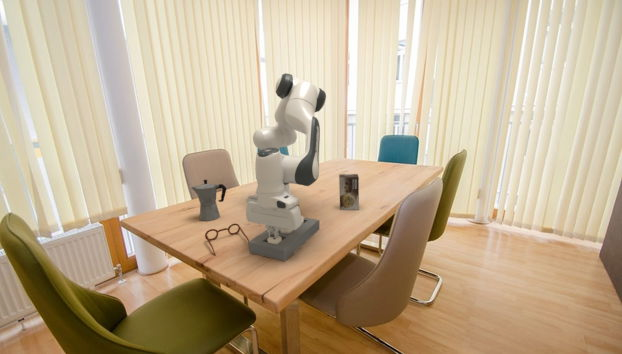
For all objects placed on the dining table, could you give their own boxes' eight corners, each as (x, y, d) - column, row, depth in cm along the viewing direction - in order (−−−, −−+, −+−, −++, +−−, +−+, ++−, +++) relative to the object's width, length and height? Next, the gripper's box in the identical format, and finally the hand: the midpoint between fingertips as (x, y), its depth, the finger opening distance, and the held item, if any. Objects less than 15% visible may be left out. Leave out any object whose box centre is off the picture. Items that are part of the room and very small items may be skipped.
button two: (289, 227, 105) (288, 219, 104) (295, 223, 109) (295, 214, 108) (300, 229, 103) (299, 221, 102) (305, 225, 107) (305, 216, 106)
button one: (265, 249, 91) (264, 240, 90) (273, 243, 95) (272, 234, 95) (277, 252, 89) (276, 242, 88) (284, 246, 93) (284, 236, 92)
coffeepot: (191, 222, 119) (185, 182, 115) (199, 214, 128) (194, 177, 124) (226, 220, 120) (222, 181, 115) (231, 213, 129) (227, 176, 125)
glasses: (240, 233, 107) (238, 221, 106) (251, 246, 97) (250, 233, 95) (205, 242, 101) (203, 230, 99) (214, 257, 90) (212, 243, 89)
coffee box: (357, 205, 133) (358, 173, 129) (358, 210, 127) (359, 176, 123) (339, 205, 134) (339, 173, 130) (339, 210, 128) (339, 177, 124)
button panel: (249, 252, 91) (248, 241, 90) (289, 223, 114) (288, 215, 113) (284, 261, 85) (284, 249, 84) (319, 229, 108) (319, 219, 107)
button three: (278, 236, 98) (277, 227, 97) (285, 231, 102) (284, 222, 101) (289, 238, 96) (288, 229, 95) (296, 233, 100) (295, 224, 99)
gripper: (240, 197, 90) (243, 235, 93) (293, 205, 81) (295, 246, 84) (252, 192, 95) (255, 228, 99) (302, 198, 86) (304, 238, 90)
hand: (273, 236), depth 91 cm, fingers closed
